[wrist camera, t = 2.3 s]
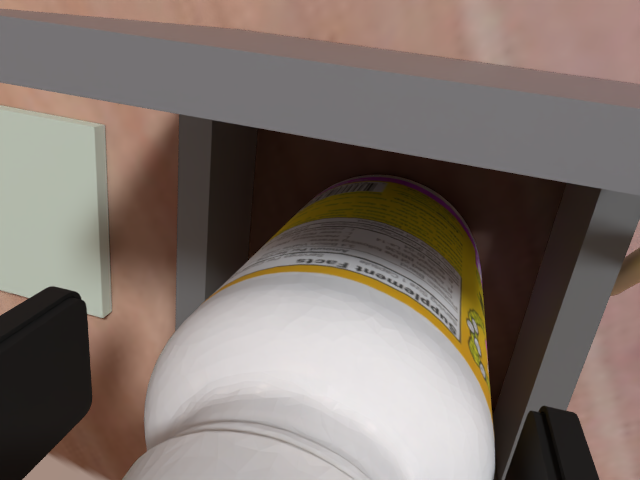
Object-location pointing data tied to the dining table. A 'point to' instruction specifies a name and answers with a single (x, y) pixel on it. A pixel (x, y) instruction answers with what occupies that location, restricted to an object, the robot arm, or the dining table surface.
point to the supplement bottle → (334, 352)
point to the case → (373, 132)
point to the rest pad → (54, 207)
